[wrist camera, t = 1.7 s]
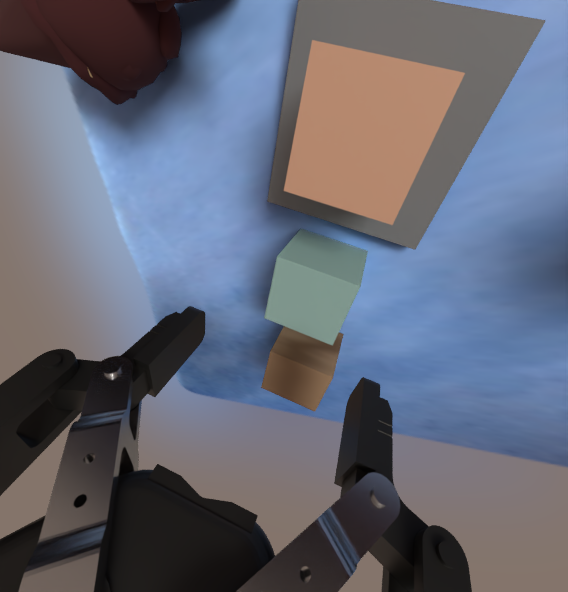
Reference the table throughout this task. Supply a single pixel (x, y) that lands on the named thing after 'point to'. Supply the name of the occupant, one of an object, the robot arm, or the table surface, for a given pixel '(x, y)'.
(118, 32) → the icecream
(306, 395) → the walnut brick
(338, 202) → the base brick
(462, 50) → the plate
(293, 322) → the teal brick
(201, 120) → the table surface
